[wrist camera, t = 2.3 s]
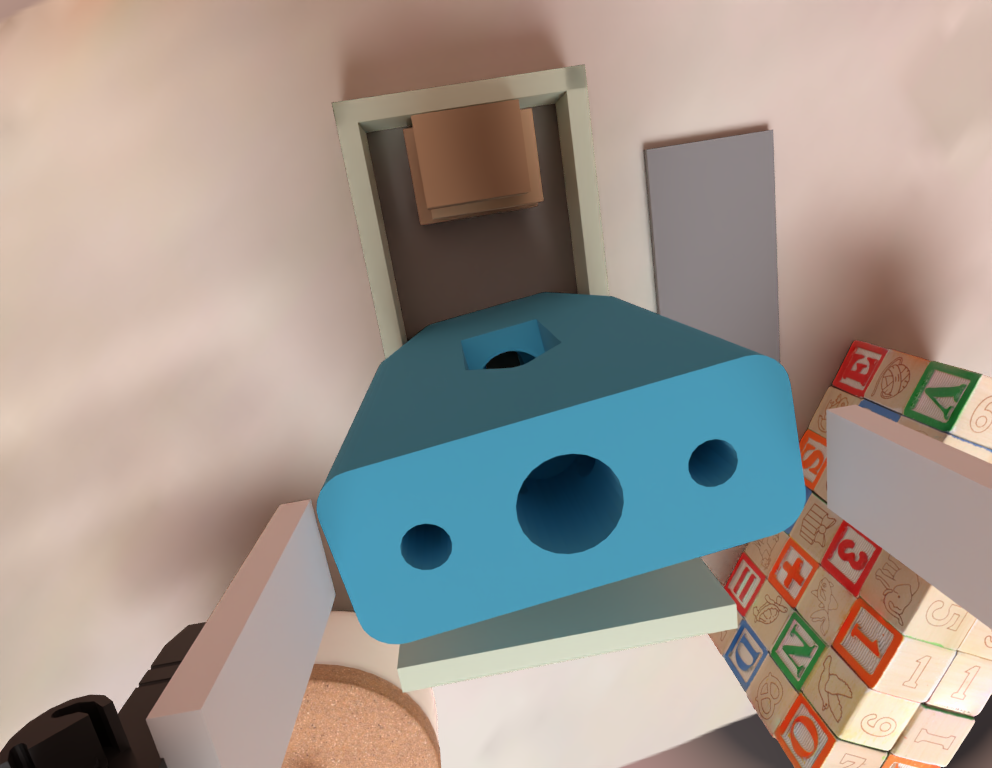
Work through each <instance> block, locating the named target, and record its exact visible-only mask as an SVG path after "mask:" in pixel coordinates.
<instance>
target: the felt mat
mask: <svg viewBox="0 0 992 768" xmlns="http://www.w3.org/2000/svg"><path fill="white" fill-rule="evenodd" d="M644 155H645V167H646V179H647V191H648V203H649V215H650V227H651V239H652V250H653V262H654V274H655V286H656V298H657V310H658V314H659V315H662V316H664V317H667V318H669V319H672V320H675V321H677V322H680V323H682V324H685V325H688V326H690V327H693V328H695V329H698V330H701V331H703V332H706V333H708V334H711V335H714V336H716V337H719V338H721V339H724V340H726V341H729V342H732V343H734V344H737V345H739V346H742V347H745V348H747V349H750V350H752V351H755V352H758V353H760V354H763V355H765V356H768V357H770V358H773V359H775V360H776V361H777V362H779V363H780V342H779V309H778V276H777V243H776V210H775V176H774V143H773V130H768V131H762V132H755V133H749V134H743V135H736V136H730V137H724V138H717V139H711V140H705V141H698V142H692V143H686V144H679V145H673V146H667V147H660V148H654V149H648V150H644Z"/></svg>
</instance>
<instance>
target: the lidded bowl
mask: <svg viewBox="0 0 992 768" xmlns="http://www.w3.org/2000/svg"><path fill="white" fill-rule="evenodd" d="M399 646H400V644H387V643H383V642H380V641H377V640H376V639H374V638H372V637H370V636H369V635H368V634H367V633H366V632H365V631H364V630H363V628H362V626H361V625H360V623H359V621H358V618H357V616H356V613H355V612H349V611H331V612H330V615H329V618H328V621H327V624H326V628H325V631H324V634H323V637H322V640H321V643H320V646H319V650H318V653H317V656H316V659H315V662H314V665H313V669H312V672H311V675H310V678H309V681H308V684H307V687H306V691H305V694H304V697H303V700H302V703H301V706H300V709H299V713H298V716H297V719H296V722H295V725H294V728H293V732H292V735H291V738H290V741H289V744H288V747H287V750H286V754H285V757H284V760H283V763H282V766H281V768H441V759H440V748H439V740H438V719H437V709H436V703H435V698H434V694H433V690H432V687H430V688H425V689H420V690H414V691H409V692H404V693H403V692H402V688H401V683H400V679H399V675H398V671H397V664H398V655H399Z"/></svg>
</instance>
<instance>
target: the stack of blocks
mask: <svg viewBox="0 0 992 768" xmlns="http://www.w3.org/2000/svg"><path fill="white" fill-rule="evenodd" d="M850 405H858V406H860V407H862V408H865V409H867V410H869V411H871V412H874V413H876V414H878V415H881V416H883V417H885V418H887V419H890V420H892V421H894V422H897V423H899V424H901V425H904V426H906V427H908V428H910V429H913V430H915V431H917V432H920V433H922V434H924V435H926V436H929V437H931V438H933V439H936V440H938V441H940V442H943V443H945V444H947V445H949V446H952V447H954V448H956V449H959V450H961V451H963V452H965V453H968V454H970V455H972V456H975V457H977V458H979V459H982V460H984V461H986V462H988V463H991V464H992V378H991V377H988V376H986V375H983V374H980V373H976V372H973V371H969V370H966V369H962V368H958V367H954V366H951V365H947V364H943V363H940V362H936V361H929V360H926V359H923V358H920V357H917V356H913V355H909V354H906V353H903V352H899V351H896V350H893V349H890V350H889V349H886V348H883V347H880V346H877V345H874V344H870V343H867V342H863V341H858V340H854V341H853V343H852V345H851V347H850V349H849V351H848V353H847V355H846V357H845V359H844V361H843V363H842V365H841V367H840V369H839V371H838V373H837V375H836V377H835V379H834V381H833V384H832V386H830V387H829V388H828V389H827V391H826V393H825V395H824V397H823V399H822V401H821V402H820V404H819V406H818V408H817V410H816V412H815V414H814V416H813V418H812V420H811V422H810V424H809V428H808V430H807V431H806V432H805V434H804V435H803V437H802V439H801V441H800V443H799V447H800V454H801V461H802V468H803V475H804V482H805V489H806V501H805V505H804V508H803V511H802V512H801V514H800V516H799V518H798V519H797V520H796V521H795V522H794V523H793V524H792V525H791V526H790V527H789V528H787V529H786V530H784V531H782V532H780V533H778V534H775V535H772V536H769V537H766V538H762V539H759V540H755V541H752V542H749V543H748V545H747V547H746V550H745V551H744V552H743V553H742V555H741V557H740V559H739V561H738V562H737V564H736V566H735V568H734V570H733V572H732V574H731V576H730V578H729V580H728V582H727V584H726V586H725V588H724V589H725V590H726V591H727V593H728V594H729V595H730V596H731V598H732V599H733V600H734V602H735V603H736V606H737V624H738V628H736V629H731V630H726V631H720V632H715V633H710V634H708V635H709V636H710V638H711V639H712V641H713V642H714V644H715V646H716V647H717V649H718V651H719V652H720V654H721V655H722V656H723V657H724V658H725V660H726V662H727V664H728V665H729V667H730V668H731V670H732V671H733V673H734V675H735V676H736V678H737V679H738V681H739V683H740V684H741V686H742V688H743V689H744V691H745V692H746V693H747V697H748V699H749V700H750V702H751V703H752V705H753V707H754V709H755V710H756V711H757V713H758V715H759V716H760V718H761V720H762V721H763V722H764V724H765V726H766V728H767V729H768V730H769V732H770V734H771V735H772V736H773V737H774V738H776V739H777V740H778V742H779V744H780V745H781V747H782V748H783V750H784V752H785V753H786V755H787V756H788V758H789V760H790V761H791V763H792V764H793V766H794V767H795V768H940V767H945V766H947V765H948V763H949V762H950V760H951V759H952V757H953V756H954V754H955V753H956V751H957V750H958V748H959V746H960V745H961V743H962V742H963V740H964V739H965V737H966V735H967V734H968V733H969V731H970V729H971V728H972V726H973V725H974V722H975V720H974V718H973V716H975V715H978V714H979V713H980V712H981V710H982V709H983V707H984V706H985V704H986V702H987V700H988V699H989V697H990V696H991V694H992V630H991V629H990V628H989V627H987V626H986V625H985V624H983V623H982V622H981V621H979V620H978V619H977V618H975V617H974V616H973V615H971V614H970V613H969V612H967V611H966V610H965V609H963V608H962V607H961V606H959V605H958V604H956V603H955V602H954V601H952V600H951V599H950V598H948V597H947V596H946V595H944V594H943V593H942V592H940V591H939V590H938V589H936V588H935V587H934V586H932V585H931V584H930V583H928V582H927V581H926V580H924V579H923V578H921V577H920V576H919V575H917V574H916V573H915V572H913V571H912V570H911V569H909V568H908V567H907V566H905V565H904V564H903V563H901V562H900V561H899V560H897V559H896V558H895V557H893V556H892V555H891V554H889V553H888V552H887V551H885V550H884V549H882V548H881V547H880V546H878V545H877V544H876V543H874V542H873V541H872V540H870V539H869V538H868V537H866V536H865V535H864V534H862V533H861V532H860V531H858V530H857V529H856V528H854V527H853V526H852V525H850V524H849V523H847V522H846V521H845V520H843V519H842V518H841V517H839V516H838V515H837V514H835V513H834V512H833V511H831V510H830V509H829V508H827V429H826V410H827V409H833V408H839V407H845V406H850Z"/></svg>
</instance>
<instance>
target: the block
mask: <svg viewBox="0 0 992 768" xmlns="http://www.w3.org/2000/svg"><path fill="white" fill-rule="evenodd" d="M508 351H515V352H517V355H518V359H519V362H520V366H517V367H513V368H500V369H486V366H487V363H488V362H489V361H490V360H491V359H492V358H493V357H495V356H497V355H499V354H501V353H504V352H508ZM805 501H806V489H805V482H804V475H803V468H802V461H801V454H800V447H799V440H798V433H797V426H796V419H795V412H794V405H793V398H792V391H791V384H790V380H789V377H788V374H787V372H786V370H785V369H784V367H783V366H782V365H781V364H780V363H779V362H777V361H776V360H775V359H773V358H770V357H768V356H765V355H763V354H760V353H758V352H755V351H752V350H750V349H747V348H745V347H742V346H739V345H737V344H734V343H732V342H729V341H726V340H724V339H721V338H719V337H716V336H714V335H711V334H708V333H706V332H703V331H701V330H698V329H695V328H693V327H690V326H688V325H685V324H682V323H680V322H677V321H675V320H672V319H669V318H667V317H664V316H662V315H659V314H657V313H654V312H651V311H649V310H646V309H644V308H641V307H638V306H636V305H633V304H631V303H628V302H625V301H623V300H620V299H618V298H615V297H612V296H602V295H585V294H569V293H553V292H543V293H539V294H535V295H532V296H528V297H525V298H521V299H518V300H514V301H511V302H507V303H504V304H500V305H497V306H493V307H490V308H486V309H483V310H479V311H476V312H472V313H469V314H465V315H462V316H458V317H455V318H451V319H448V320H444V321H441V322H437V323H434V324H431V325H428V326H426V327H425V328H424V329H423V330H421V331H420V332H419V333H418V334H416V335H415V336H414V337H413V338H411V339H410V340H409V341H408V342H407V343H405V344H404V345H403V346H402V347H400V348H399V349H398V350H397V351H395V352H394V353H393V354H392V355H390V356H389V357H388V358H387V359H386V360H384V361H383V362H382V363H381V364H380V366H379V367H378V369H377V371H376V374H375V376H374V378H373V380H372V382H371V384H370V386H369V389H368V391H367V393H366V395H365V397H364V399H363V401H362V404H361V406H360V408H359V410H358V412H357V414H356V416H355V419H354V421H353V423H352V425H351V427H350V429H349V431H348V434H347V436H346V438H345V440H344V442H343V444H342V446H341V449H340V451H339V453H338V455H337V457H336V459H335V461H334V464H333V466H332V468H331V470H330V472H329V474H328V476H327V479H326V481H325V483H324V485H323V487H322V489H321V491H320V494H319V497H318V500H317V515H318V519H319V522H320V524H321V527H322V530H323V532H324V535H325V537H326V540H327V542H328V545H329V547H330V550H331V552H332V555H333V557H334V560H335V563H336V565H337V568H338V570H339V573H340V575H341V578H342V580H343V583H344V585H345V588H346V590H347V593H348V595H349V598H350V601H351V603H352V606H353V608H354V611H355V613H356V616H357V618H358V621H359V623H360V625H361V626H362V628H363V630H364V631H365V632H366V633H367V634H368V635H369V636H370V637H372V638H374V639H376V640H377V641H380V642H383V643H387V644H404V643H409V642H412V641H416V640H419V639H423V638H426V637H429V636H433V635H436V634H440V633H443V632H446V631H450V630H453V629H457V628H460V627H463V626H467V625H470V624H474V623H477V622H480V621H484V620H487V619H491V618H494V617H497V616H501V615H504V614H508V613H511V612H514V611H518V610H521V609H525V608H528V607H531V606H535V605H538V604H541V603H545V602H548V601H552V600H555V599H558V598H562V597H565V596H569V595H572V594H575V593H579V592H582V591H586V590H589V589H592V588H596V587H599V586H603V585H606V584H609V583H613V582H616V581H620V580H623V579H626V578H630V577H633V576H637V575H640V574H643V573H647V572H650V571H654V570H657V569H660V568H664V567H667V566H671V565H674V564H677V563H681V562H684V561H688V560H691V559H694V558H698V557H701V556H704V555H708V554H711V553H715V552H718V551H721V550H725V549H728V548H732V547H735V546H738V545H742V544H745V543H749V542H752V541H755V540H759V539H762V538H766V537H769V536H772V535H775V534H778V533H780V532H782V531H784V530H786V529H787V528H789V527H790V526H791V525H792V524H793V523H794V522H795V521H796V520H797V519H798V518H799V516H800V514H801V512H802V511H803V508H804V505H805Z"/></svg>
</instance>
